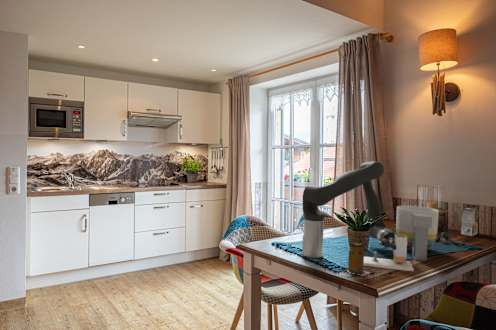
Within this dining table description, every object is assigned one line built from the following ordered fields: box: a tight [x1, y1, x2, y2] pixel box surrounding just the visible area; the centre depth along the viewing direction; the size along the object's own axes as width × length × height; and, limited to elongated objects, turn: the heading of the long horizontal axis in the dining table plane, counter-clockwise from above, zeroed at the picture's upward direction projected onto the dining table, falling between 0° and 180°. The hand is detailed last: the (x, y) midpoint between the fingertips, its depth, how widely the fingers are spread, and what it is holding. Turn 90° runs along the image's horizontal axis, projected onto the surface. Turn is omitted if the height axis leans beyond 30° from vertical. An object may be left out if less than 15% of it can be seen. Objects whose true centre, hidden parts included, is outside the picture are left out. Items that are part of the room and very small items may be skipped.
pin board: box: [363, 251, 415, 272], centre depth 154 cm, size 20×10×5 cm, turn 74°
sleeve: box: [392, 235, 408, 263], centre depth 153 cm, size 5×5×11 cm
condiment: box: [347, 241, 371, 277], centre depth 143 cm, size 7×8×12 cm
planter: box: [395, 205, 440, 251], centre depth 180 cm, size 20×20×21 cm
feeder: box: [411, 213, 432, 262], centre depth 165 cm, size 7×9×21 cm
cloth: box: [434, 231, 463, 248], centre depth 196 cm, size 22×19×6 cm
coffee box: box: [460, 207, 480, 237], centre depth 218 cm, size 9×6×16 cm
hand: (402, 248), depth 150 cm, fingers closed on sleeve, 5 cm apart
